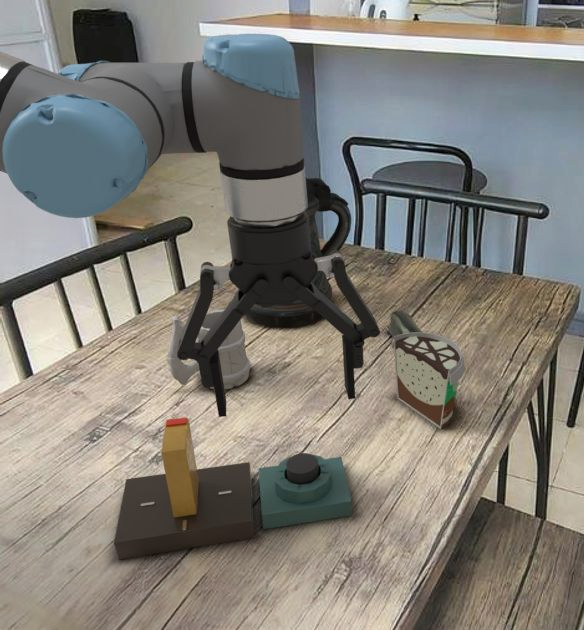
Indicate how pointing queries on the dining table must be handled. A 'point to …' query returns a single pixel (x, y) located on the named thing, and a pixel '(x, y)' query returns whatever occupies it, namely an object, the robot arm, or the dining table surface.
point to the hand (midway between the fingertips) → (287, 400)
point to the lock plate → (186, 531)
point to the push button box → (304, 495)
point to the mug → (229, 352)
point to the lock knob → (180, 467)
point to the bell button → (302, 468)
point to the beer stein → (321, 202)
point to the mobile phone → (401, 324)
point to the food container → (428, 374)
